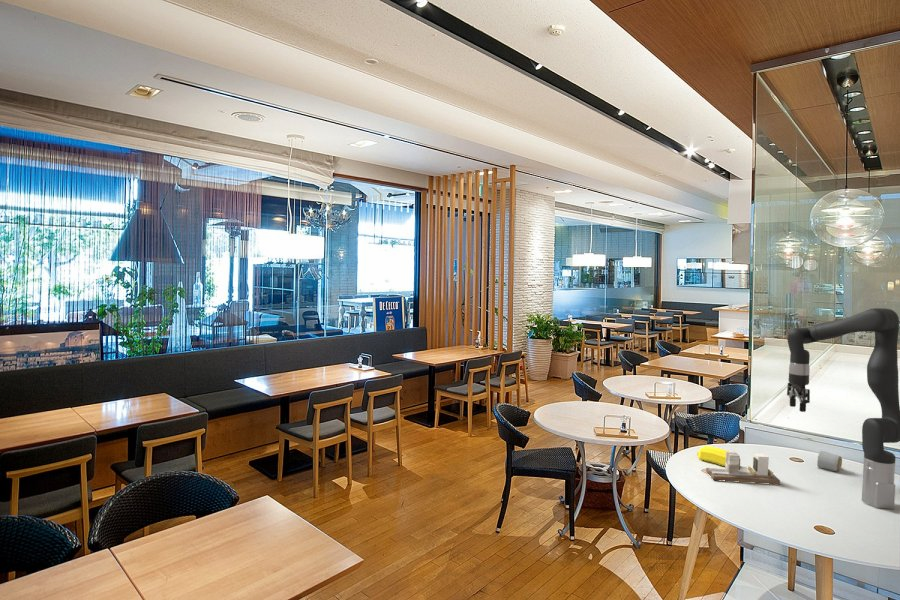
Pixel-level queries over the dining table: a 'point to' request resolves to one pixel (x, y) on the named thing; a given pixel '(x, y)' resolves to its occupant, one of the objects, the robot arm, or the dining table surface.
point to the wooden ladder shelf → (740, 472)
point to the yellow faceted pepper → (713, 455)
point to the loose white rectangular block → (760, 464)
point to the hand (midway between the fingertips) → (797, 408)
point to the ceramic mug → (829, 461)
